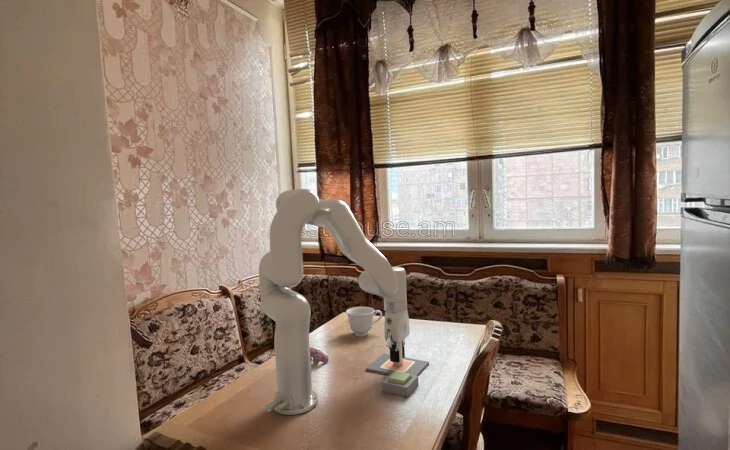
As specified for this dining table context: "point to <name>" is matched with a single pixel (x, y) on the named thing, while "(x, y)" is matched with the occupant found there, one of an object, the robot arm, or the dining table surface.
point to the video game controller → (318, 356)
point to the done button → (400, 377)
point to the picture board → (387, 367)
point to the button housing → (400, 387)
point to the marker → (399, 355)
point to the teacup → (362, 319)
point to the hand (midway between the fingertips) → (397, 358)
